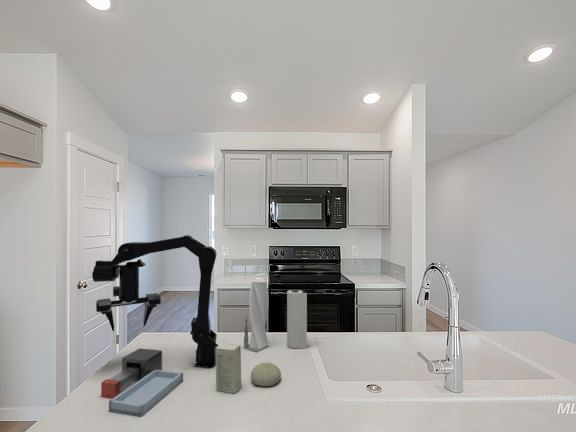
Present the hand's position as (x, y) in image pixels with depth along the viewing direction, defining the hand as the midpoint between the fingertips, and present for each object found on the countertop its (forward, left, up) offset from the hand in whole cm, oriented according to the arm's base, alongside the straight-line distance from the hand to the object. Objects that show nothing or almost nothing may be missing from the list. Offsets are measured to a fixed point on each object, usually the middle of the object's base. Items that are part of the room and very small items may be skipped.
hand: (129, 328), depth 106 cm
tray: (-17, +12, -13) cm, 25 cm away
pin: (-7, +9, -13) cm, 17 cm away
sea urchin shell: (-46, -3, -14) cm, 48 cm away
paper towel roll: (-49, -32, -14) cm, 60 cm away
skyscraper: (-35, -28, -14) cm, 47 cm away
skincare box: (-37, +4, -14) cm, 39 cm away
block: (-7, +3, -13) cm, 15 cm away
